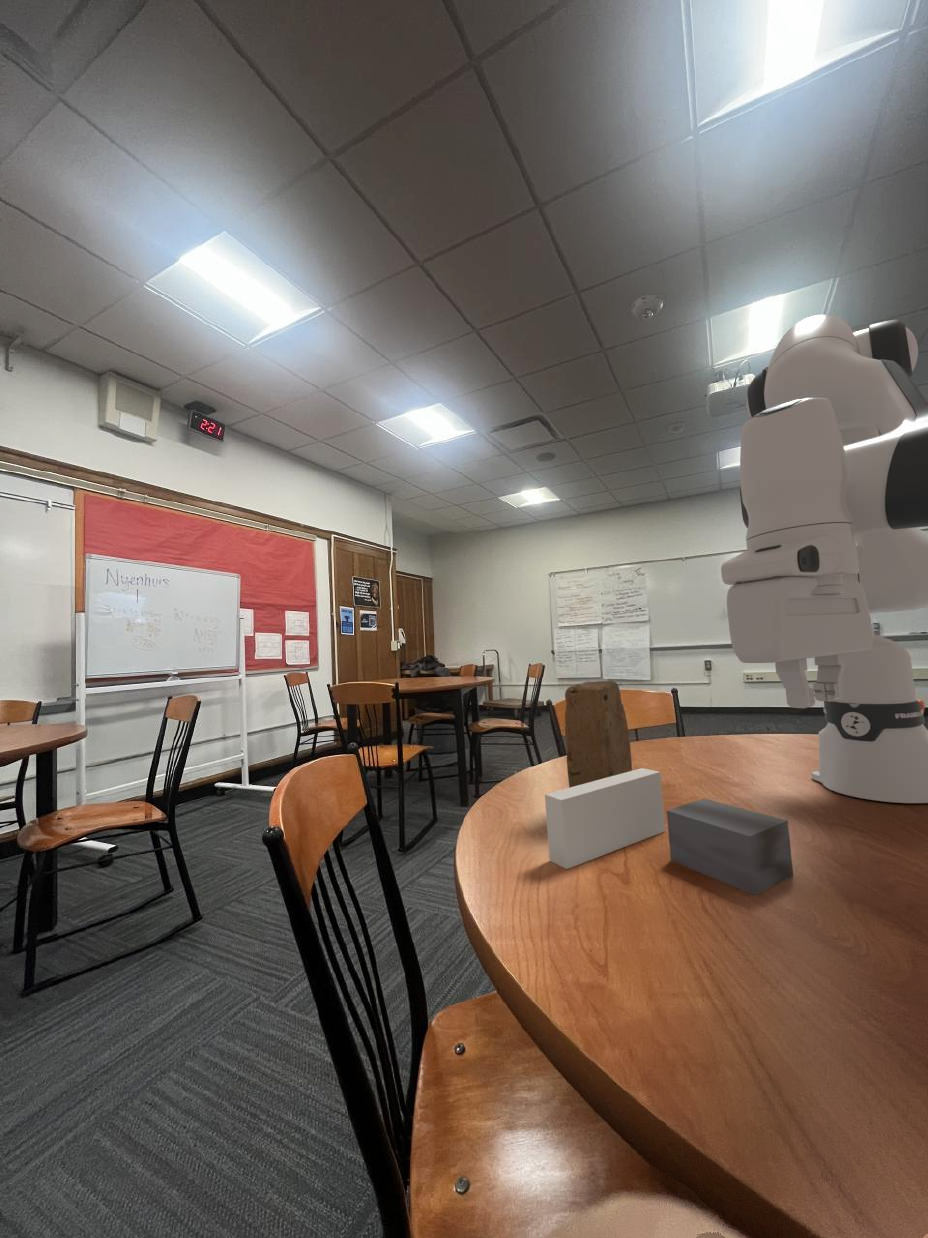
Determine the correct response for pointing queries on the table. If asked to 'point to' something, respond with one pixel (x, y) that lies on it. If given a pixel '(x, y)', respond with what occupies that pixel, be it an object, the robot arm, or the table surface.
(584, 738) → the block
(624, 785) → the cream board
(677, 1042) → the table surface
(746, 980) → the table surface
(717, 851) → the charcoal block
